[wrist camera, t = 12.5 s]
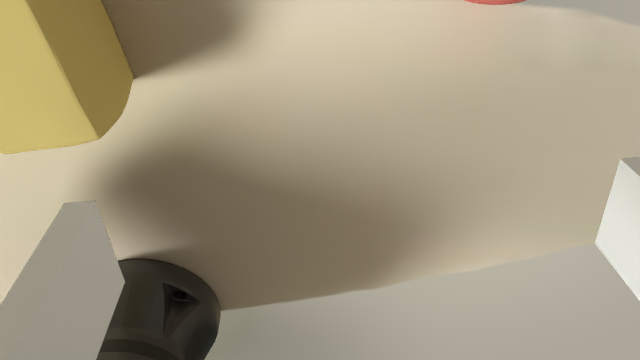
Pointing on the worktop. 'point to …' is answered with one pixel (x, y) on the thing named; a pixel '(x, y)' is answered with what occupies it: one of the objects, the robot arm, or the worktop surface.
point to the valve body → (495, 1)
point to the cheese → (58, 74)
